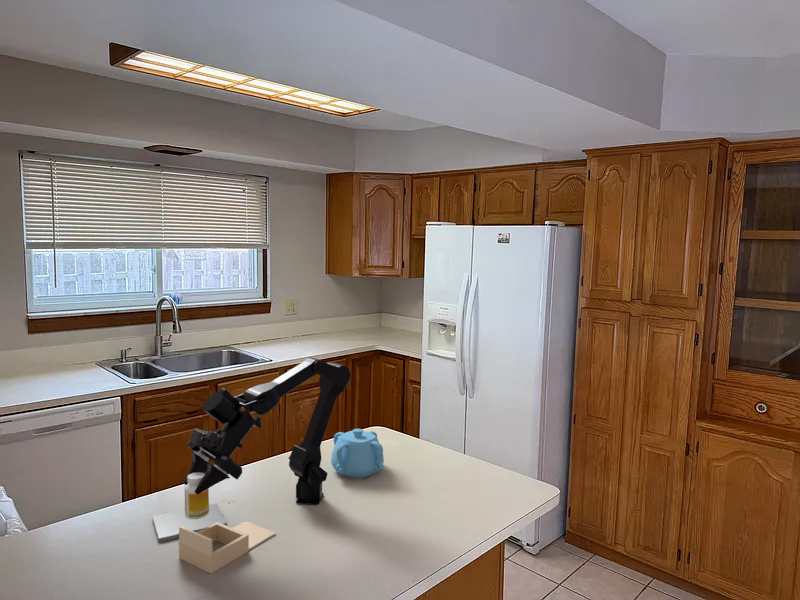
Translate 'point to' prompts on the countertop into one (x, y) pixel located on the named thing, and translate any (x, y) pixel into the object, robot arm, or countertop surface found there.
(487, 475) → the countertop surface
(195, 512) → the supplement bottle
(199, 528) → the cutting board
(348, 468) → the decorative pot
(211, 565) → the carton
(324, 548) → the countertop surface
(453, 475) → the countertop surface
